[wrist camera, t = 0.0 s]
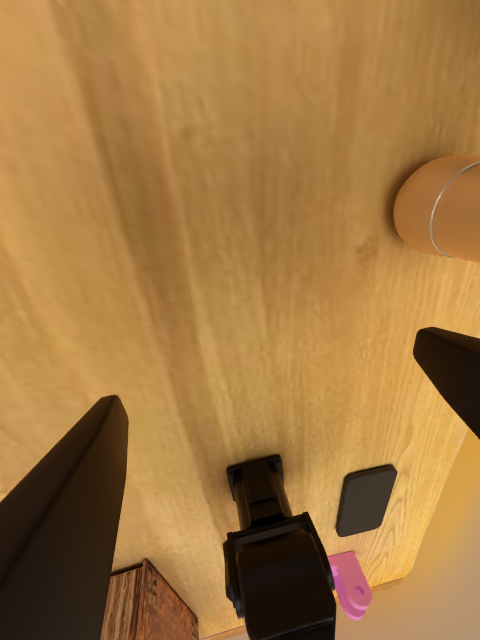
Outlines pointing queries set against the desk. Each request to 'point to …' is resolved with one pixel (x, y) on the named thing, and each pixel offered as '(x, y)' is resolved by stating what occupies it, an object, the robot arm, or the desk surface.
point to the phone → (365, 500)
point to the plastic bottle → (442, 208)
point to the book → (146, 608)
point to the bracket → (350, 584)
